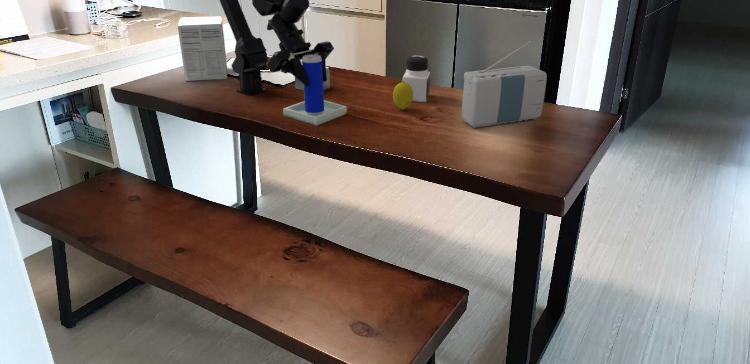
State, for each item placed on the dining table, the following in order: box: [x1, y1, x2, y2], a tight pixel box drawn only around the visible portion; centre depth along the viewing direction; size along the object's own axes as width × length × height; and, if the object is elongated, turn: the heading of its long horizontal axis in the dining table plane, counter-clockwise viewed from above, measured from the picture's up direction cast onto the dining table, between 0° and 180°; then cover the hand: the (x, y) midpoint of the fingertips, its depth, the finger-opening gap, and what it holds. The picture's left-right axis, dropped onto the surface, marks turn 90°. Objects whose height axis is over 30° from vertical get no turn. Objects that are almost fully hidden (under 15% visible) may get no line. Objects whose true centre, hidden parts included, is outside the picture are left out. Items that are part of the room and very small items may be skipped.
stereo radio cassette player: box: [461, 40, 547, 129], centre depth 144 cm, size 21×8×20 cm, turn 112°
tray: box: [282, 99, 348, 127], centre depth 151 cm, size 12×12×2 cm
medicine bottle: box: [402, 55, 431, 103], centre depth 162 cm, size 7×7×12 cm
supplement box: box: [177, 15, 228, 82], centre depth 181 cm, size 13×13×18 cm
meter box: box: [294, 67, 331, 91], centre depth 172 cm, size 8×7×6 cm
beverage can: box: [301, 55, 325, 115], centre depth 148 cm, size 5×5×15 cm
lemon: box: [392, 80, 413, 110], centre depth 154 cm, size 6×6×8 cm
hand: (317, 83), depth 147 cm, fingers open, 5 cm apart
